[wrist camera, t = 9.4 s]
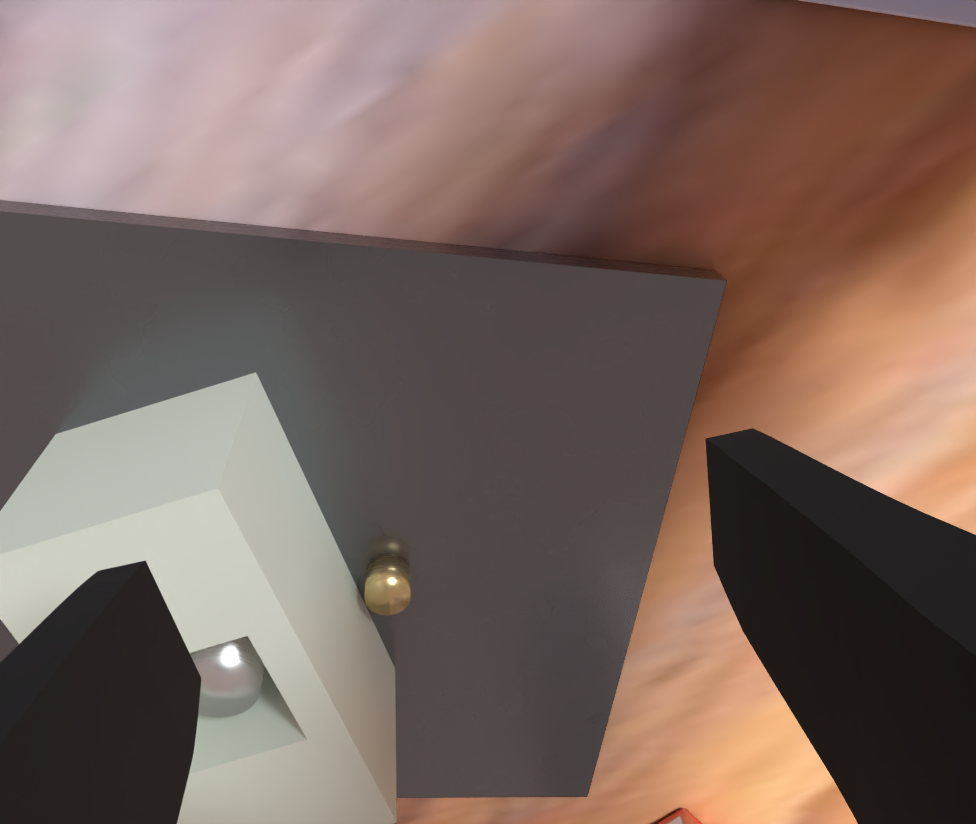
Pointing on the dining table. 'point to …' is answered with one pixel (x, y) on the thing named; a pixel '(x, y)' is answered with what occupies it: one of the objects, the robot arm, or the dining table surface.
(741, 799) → the dining table surface
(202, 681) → the stand
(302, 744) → the block with square hole
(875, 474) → the dining table surface
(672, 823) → the cracker box
